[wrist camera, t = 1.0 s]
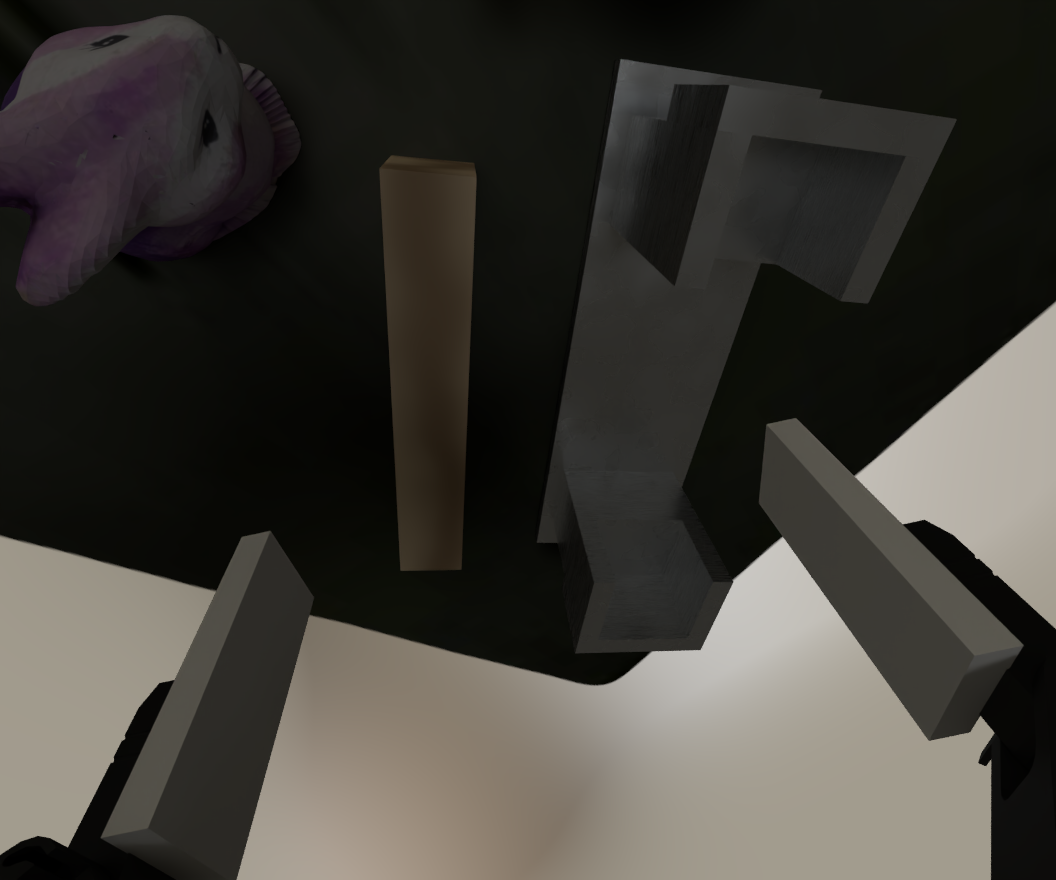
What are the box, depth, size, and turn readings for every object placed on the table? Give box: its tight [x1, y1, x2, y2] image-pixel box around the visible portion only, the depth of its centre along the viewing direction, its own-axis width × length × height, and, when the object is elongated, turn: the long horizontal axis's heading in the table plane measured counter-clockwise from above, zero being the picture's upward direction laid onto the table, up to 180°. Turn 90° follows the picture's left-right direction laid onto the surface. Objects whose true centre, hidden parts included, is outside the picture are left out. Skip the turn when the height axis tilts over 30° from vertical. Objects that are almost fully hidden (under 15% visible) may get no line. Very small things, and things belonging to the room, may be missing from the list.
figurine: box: [0, 15, 301, 306], centre depth 18 cm, size 9×10×15 cm
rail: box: [380, 155, 477, 571], centre depth 31 cm, size 4×24×5 cm, turn 174°
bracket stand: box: [535, 59, 957, 653], centre depth 29 cm, size 10×30×11 cm, turn 173°
